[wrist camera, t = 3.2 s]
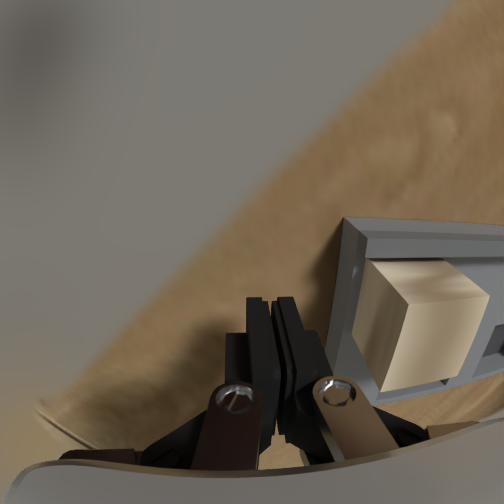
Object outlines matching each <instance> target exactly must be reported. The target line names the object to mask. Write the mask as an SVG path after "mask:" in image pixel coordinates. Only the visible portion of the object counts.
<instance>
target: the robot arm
mask: <svg viewBox="0 0 504 504" xmlns="http://www.w3.org/2000/svg"><path fill="white" fill-rule="evenodd" d="M276 419H277V426H278V432H279V435H285V440H286V443H291V444H293V445H295V446H296V447H298V448H300V450H299V452H300V457H301V459H302V462H303V464H304V466H302V467H293V468H281V469H267V470H258V466H259V456H260V454H261V453H262V452H263V451H264V450H266V449H267V448H268V447H269V446H270V445H271V438H272V435H274V434H275V426H276ZM1 504H504V418H499V419H493V420H489V421H485V422H481V423H480V422H477V421H469V422H461V423H453V424H443V425H431V426H427V427H426V428H425V429H422V428H421V427H420V426H418V425H416V424H414V423H411V422H409V421H406V420H404V419H402V418H399V417H397V416H394V415H392V414H390V413H387V412H385V411H383V410H381V409H378V408H376V407H374V406H372V405H371V404H370V402H369V401H368V399H367V398H366V396H365V395H364V393H363V392H362V390H361V389H360V387H359V386H358V385H357V384H356V383H355V382H354V381H352V380H351V379H349V378H346V377H343V376H334V375H333V372H332V370H331V367H330V365H329V362H328V359H327V357H326V354H325V351H324V349H323V346H322V344H321V341H320V338H319V336H318V333H317V331H315V330H310V331H304V328H303V325H302V322H301V319H300V316H299V313H298V310H297V307H296V304H295V301H294V298H293V297H278V298H277V301H272V304H271V316H270V311H269V306H268V301H262V297H247V298H246V333H226V348H225V383H224V384H222V385H220V386H218V387H217V388H216V389H215V390H213V392H212V394H211V396H210V400H209V403H208V407H207V410H205V411H204V412H202V413H201V414H199V415H198V416H196V417H195V418H193V419H192V420H190V421H189V422H187V423H185V424H184V425H182V426H181V427H179V428H178V429H176V430H174V431H173V432H171V433H170V434H168V435H166V436H165V437H163V438H161V439H160V440H158V441H156V442H155V443H153V444H151V445H150V446H149V447H147V448H146V449H145V450H144V451H135V450H134V448H129V449H98V450H84V449H76V450H69V451H67V452H66V453H63V454H62V456H61V457H60V458H59V460H52V461H45V462H40V463H36V464H33V465H30V466H28V467H27V468H25V469H24V470H22V471H21V472H20V473H19V475H17V477H16V478H15V480H14V481H13V482H12V484H11V486H10V487H9V489H8V491H7V493H6V495H5V497H4V499H3V501H2V503H1Z"/></svg>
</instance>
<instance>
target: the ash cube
mask: <svg viewBox="0 0 504 504" xmlns="http://www.w3.org/2000/svg"><path fill="white" fill-rule="evenodd" d="M489 297H490V296H489V295H488V294H487V293H486V292H485V291H483V290H482V289H481V288H480V287H479V286H477V285H476V284H475V283H474V282H472V281H471V280H470V279H469V278H467V277H466V276H465V275H464V274H462V273H461V272H460V271H458V270H457V269H456V268H455V267H453V266H452V265H451V264H449V263H448V262H447V261H445V260H444V259H443V258H441V257H424V258H366V260H365V266H364V272H363V278H362V284H361V289H360V295H359V300H358V305H357V310H356V315H355V320H354V325H353V329H352V336H353V338H354V340H355V342H356V344H357V346H358V348H359V350H360V352H361V354H362V356H363V358H364V360H365V362H366V364H367V366H368V368H369V370H370V372H371V375H372V377H373V379H374V381H375V383H376V385H377V387H378V389H379V391H380V392H385V391H391V390H396V389H402V388H407V387H412V386H417V385H421V384H426V383H430V382H435V381H439V380H443V379H447V378H451V377H455V376H457V375H458V373H459V371H460V369H461V367H462V365H463V363H464V360H465V358H466V356H467V354H468V352H469V349H470V347H471V345H472V342H473V340H474V338H475V335H476V333H477V330H478V328H479V325H480V322H481V320H482V317H483V314H484V312H485V309H486V306H487V303H488V300H489Z"/></svg>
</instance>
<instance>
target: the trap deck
mask: <svg viewBox="0 0 504 504" xmlns="http://www.w3.org/2000/svg"><path fill="white" fill-rule="evenodd" d="M424 257H441V258H443V259H444V260H445V261H447V262H448V263H449V264H451V265H452V266H453V267H455V268H456V269H457V270H458V271H460V272H461V273H462V274H464V275H465V276H466V277H467V278H469V279H470V280H471V281H472V282H474V283H475V284H476V285H477V286H479V287H480V288H481V289H482V290H483V291H485V292H486V293H487V294H488V295H489V296H490V297H489V300H488V303H487V306H486V309H485V312H484V314H483V317H482V320H481V322H480V325H479V328H478V330H477V333H476V335H475V338H474V340H473V342H472V345H471V347H470V349H469V352H468V354H467V356H466V358H465V360H464V363H463V365H462V367H461V369H460V371H459V373H458V375H457V376H455V377H451V378H447V379H443V380H439V381H435V382H430V383H426V384H421V385H417V386H412V387H407V388H402V389H396V390H391V391H385V392H380V391H379V389H378V387H377V385H376V383H375V381H374V379H373V377H372V375H371V372H370V370H369V368H368V366H367V364H366V362H365V360H364V358H363V356H362V354H361V352H360V350H359V348H358V346H357V344H356V342H355V340H354V338H353V336H352V329H353V325H354V320H355V315H356V310H357V305H358V300H359V295H360V289H361V284H362V278H363V272H364V266H365V260H366V258H424ZM325 354H326V357H327V359H328V362H329V365H330V367H331V370H332V372H333V375H334V376H343V377H346V378H349V379H351V380H352V381H354V382H355V383H356V384H357V385H358V386H359V387H360V389H361V390H362V392H363V393H364V395H365V396H366V398H367V399H368V401H369V402H370V404H371V405H372V406H374V405H380V404H386V403H391V402H396V401H401V400H406V399H410V398H415V397H419V396H424V395H428V394H432V393H436V392H440V391H443V390H447V389H451V388H454V387H458V386H461V385H465V384H468V383H471V382H474V381H477V380H481V379H484V378H487V377H490V376H492V375H495V374H498V373H501V372H504V226H500V225H488V224H474V223H460V222H444V221H426V220H407V219H384V218H357V217H344V220H343V229H342V238H341V247H340V255H339V263H338V271H337V278H336V285H335V292H334V299H333V305H332V312H331V318H330V324H329V330H328V335H327V341H326V346H325Z"/></svg>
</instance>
